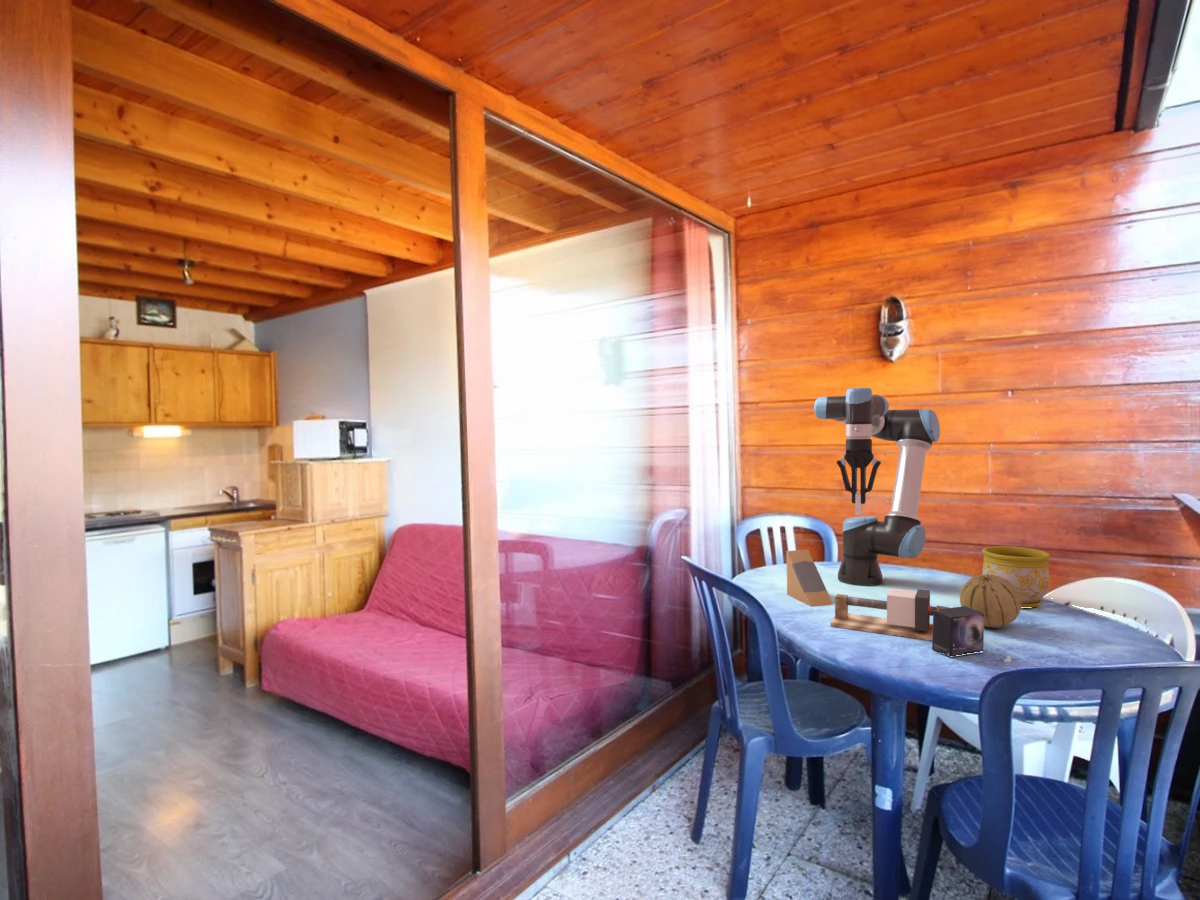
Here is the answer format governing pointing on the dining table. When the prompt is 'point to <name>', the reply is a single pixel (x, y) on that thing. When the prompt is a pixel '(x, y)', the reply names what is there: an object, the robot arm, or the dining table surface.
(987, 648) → the dining table surface
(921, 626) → the ring
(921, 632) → the rail
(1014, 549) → the flowerpot
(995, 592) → the cantaloupe
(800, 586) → the sandwich container
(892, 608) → the sleeve
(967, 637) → the small box
